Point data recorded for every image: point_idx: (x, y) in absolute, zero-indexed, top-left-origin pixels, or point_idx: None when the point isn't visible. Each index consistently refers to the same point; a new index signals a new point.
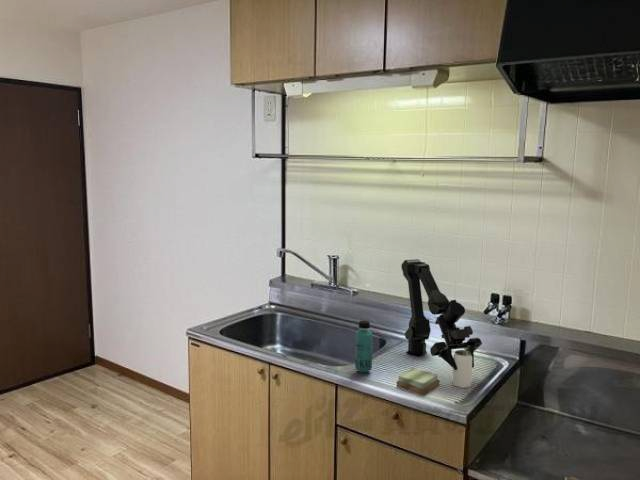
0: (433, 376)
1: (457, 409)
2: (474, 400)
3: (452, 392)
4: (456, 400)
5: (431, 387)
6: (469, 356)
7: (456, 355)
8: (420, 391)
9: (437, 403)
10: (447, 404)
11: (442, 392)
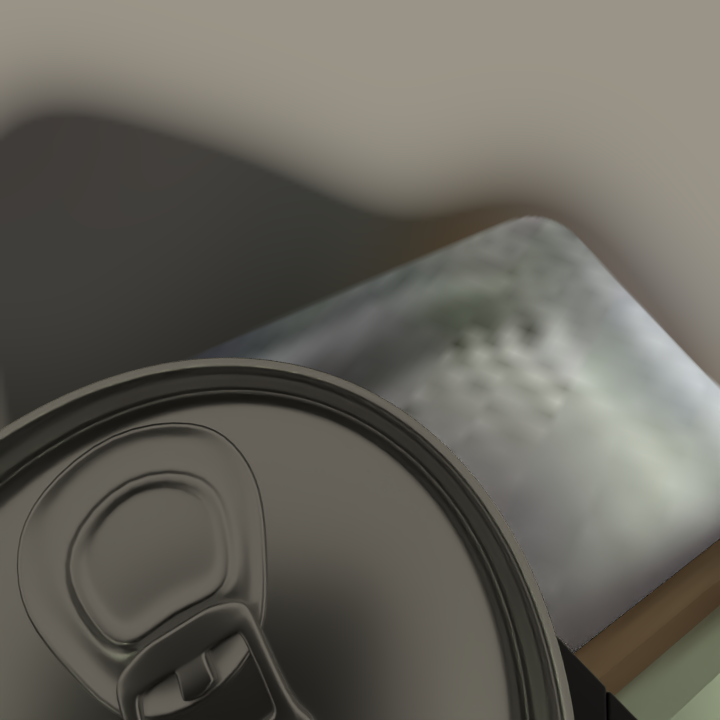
0: (714, 702)
1: (566, 257)
2: (392, 298)
3: (475, 474)
4: (515, 348)
5: (675, 595)
6: (186, 384)
7: (534, 684)
8: None
9: (665, 366)
10: (602, 328)
11: (561, 512)
